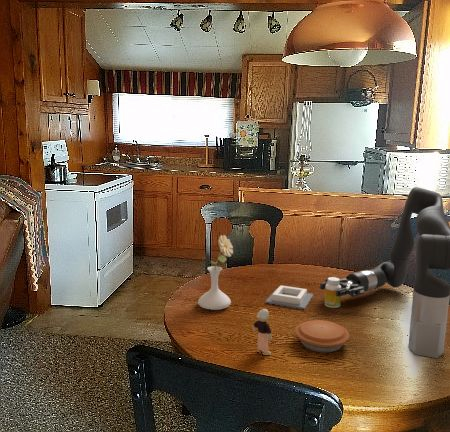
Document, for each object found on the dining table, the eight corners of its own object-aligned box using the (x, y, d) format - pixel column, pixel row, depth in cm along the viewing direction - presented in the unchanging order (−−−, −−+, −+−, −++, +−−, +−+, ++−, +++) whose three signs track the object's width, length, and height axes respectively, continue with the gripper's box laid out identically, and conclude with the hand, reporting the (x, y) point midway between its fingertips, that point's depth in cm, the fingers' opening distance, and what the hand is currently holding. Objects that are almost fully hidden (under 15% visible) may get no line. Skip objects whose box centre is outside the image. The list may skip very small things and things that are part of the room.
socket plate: (304, 309, 158) (304, 301, 157) (265, 303, 163) (265, 295, 163) (313, 295, 171) (313, 288, 170) (276, 290, 176) (276, 282, 175)
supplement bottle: (337, 309, 159) (338, 282, 157) (322, 306, 161) (323, 279, 159) (342, 304, 163) (343, 278, 161) (327, 301, 166) (328, 275, 164)
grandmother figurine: (277, 354, 128) (279, 311, 125) (269, 359, 125) (270, 315, 122) (256, 345, 133) (257, 303, 130) (247, 349, 130) (248, 307, 127)
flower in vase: (212, 316, 152) (212, 242, 147) (191, 305, 161) (190, 235, 156) (241, 306, 161) (242, 236, 156) (219, 296, 169) (220, 230, 164)
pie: (291, 331, 142) (292, 315, 141) (342, 332, 142) (343, 317, 141) (297, 356, 127) (298, 339, 126) (354, 357, 127) (355, 340, 126)
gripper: (347, 266, 174) (314, 274, 165) (378, 277, 162) (344, 286, 153) (346, 285, 175) (313, 293, 167) (376, 297, 163) (343, 307, 155)
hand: (328, 290), depth 160 cm, fingers open, 7 cm apart
